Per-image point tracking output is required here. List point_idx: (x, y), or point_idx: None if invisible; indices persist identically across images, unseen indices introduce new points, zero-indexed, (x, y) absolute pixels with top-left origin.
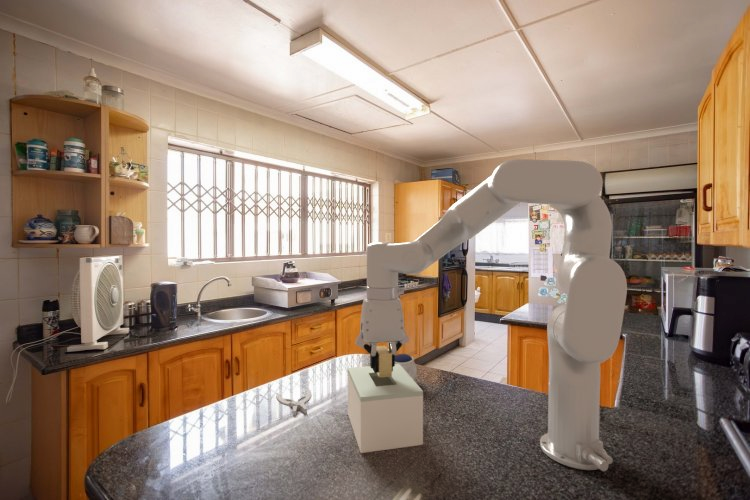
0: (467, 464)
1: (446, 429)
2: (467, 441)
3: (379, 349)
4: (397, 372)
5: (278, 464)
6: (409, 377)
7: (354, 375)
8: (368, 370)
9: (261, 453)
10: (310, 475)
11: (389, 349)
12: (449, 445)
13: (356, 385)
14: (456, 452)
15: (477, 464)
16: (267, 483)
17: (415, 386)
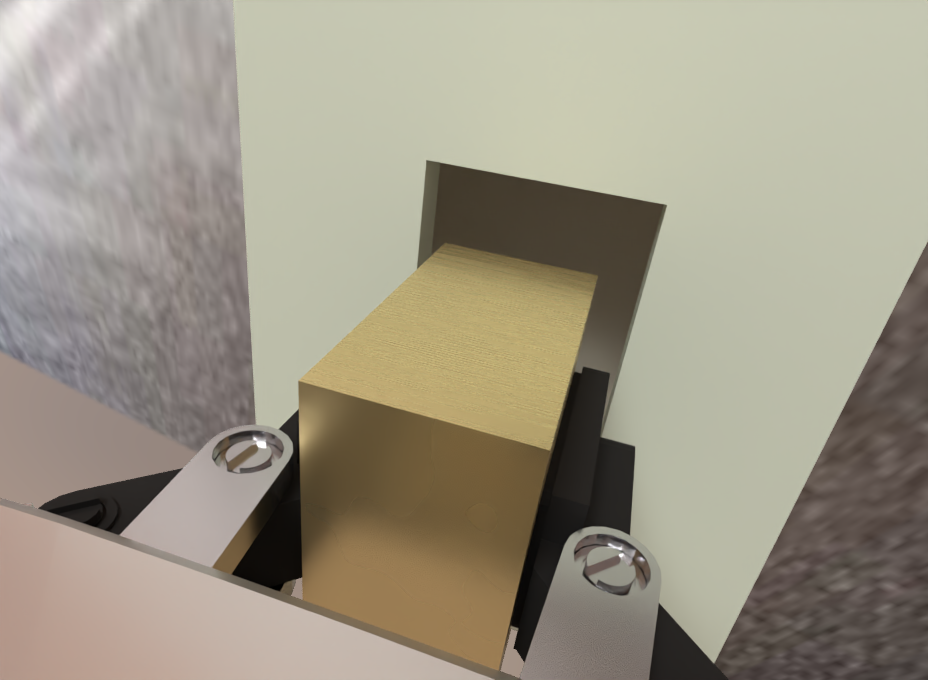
0: (762, 617)
1: (923, 403)
2: (921, 530)
3: (357, 565)
4: (762, 289)
5: (118, 298)
6: (790, 466)
7: (273, 168)
8: (453, 73)
9: (48, 203)
10: (220, 399)
11: (543, 606)
12: (802, 508)
13: (261, 385)
14: (787, 554)
15: (800, 635)
16: (107, 373)
17: (698, 622)
